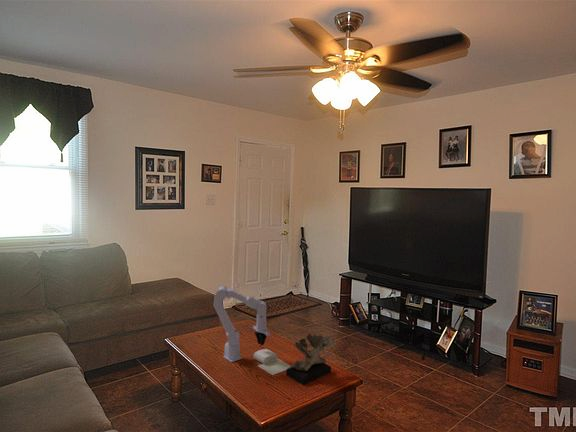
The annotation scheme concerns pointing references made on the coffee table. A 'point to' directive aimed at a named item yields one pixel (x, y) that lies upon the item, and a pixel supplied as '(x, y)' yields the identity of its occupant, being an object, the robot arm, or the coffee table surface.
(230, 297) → the robot arm
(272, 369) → the mat
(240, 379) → the coffee table surface
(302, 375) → the coral
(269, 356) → the photo printer
